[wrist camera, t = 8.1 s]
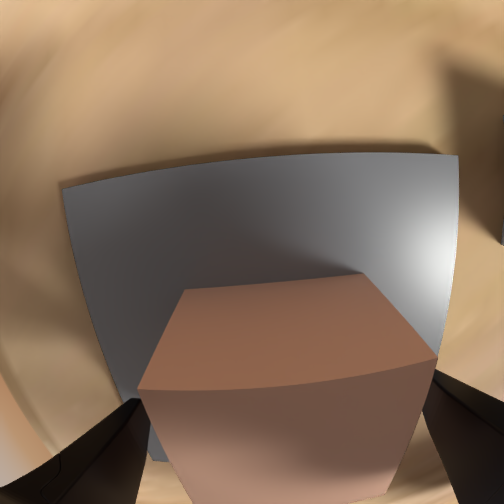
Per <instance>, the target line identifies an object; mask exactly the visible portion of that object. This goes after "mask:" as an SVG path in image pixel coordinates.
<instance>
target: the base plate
mask: <svg viewBox="0 0 504 504" xmlns="http://www.w3.org/2000/svg"><path fill="white" fill-rule="evenodd" d="M62 194H63V201H64V207H65V213H66V219H67V224H68V230H69V235H70V240H71V245H72V249H73V254H74V258H75V262H76V267H77V271H78V275H79V278H80V282H81V286H82V290H83V293H84V297H85V300H86V304H87V307H88V310H89V313H90V317H91V320H92V323H93V326H94V329H95V332H96V335H97V338H98V341H99V343H100V346H101V349H102V352H103V354H104V357H105V360H106V362H107V365H108V367H109V370H110V372H111V375H112V377H113V380H114V382H115V385H116V387H117V389H118V392H119V394H120V396H121V398H122V401H123V403H125V402H126V401H127V400H129V399H130V398H140V395H139V393H138V390H137V388H138V386H139V384H140V381H141V379H142V377H143V375H144V373H145V371H146V368H147V366H148V364H149V362H150V360H151V358H152V356H153V353H154V351H155V349H156V347H157V345H158V343H159V341H160V339H161V337H162V335H163V333H164V330H165V328H166V326H167V324H168V322H169V320H170V318H171V316H172V314H173V312H174V310H175V308H176V306H177V304H178V302H179V300H180V298H181V296H182V294H183V292H184V290H185V289H199V288H212V287H226V286H238V285H250V284H262V283H273V282H284V281H295V280H305V279H315V278H325V277H335V276H344V275H353V274H362V273H364V274H365V275H366V276H367V277H368V278H369V279H370V281H371V282H372V283H373V284H374V285H375V286H376V287H377V288H378V289H379V290H380V291H381V292H382V294H383V295H384V296H385V297H386V298H387V299H388V300H389V301H390V302H391V303H392V305H393V306H394V307H395V308H396V309H397V310H398V311H399V312H400V314H401V315H402V316H403V317H404V318H405V319H406V320H407V321H408V323H409V324H410V325H411V326H412V327H413V328H414V330H415V331H416V332H417V333H418V334H419V335H420V336H421V338H422V339H423V340H424V341H425V342H426V344H427V345H428V346H429V347H430V348H431V349H432V351H433V352H434V353H435V354H436V355H437V357H438V353H439V349H440V345H441V341H442V336H443V332H444V327H445V322H446V317H447V312H448V307H449V301H450V295H451V288H452V281H453V274H454V266H455V257H456V246H457V233H458V214H459V163H458V155H443V154H424V153H383V152H364V153H322V154H301V155H284V156H271V157H258V158H247V159H237V160H228V161H219V162H210V163H202V164H195V165H187V166H180V167H173V168H167V169H160V170H154V171H148V172H142V173H137V174H131V175H126V176H120V177H115V178H110V179H105V180H100V181H96V182H91V183H86V184H82V185H78V186H73V187H69V188H65V189H62ZM147 451H148V453H149V454H150V456H151V458H152V460H153V461H162V462H170V461H169V459H168V457H167V455H166V453H165V451H164V449H163V447H162V445H161V443H160V441H159V439H158V437H157V434H156V432H155V430H154V428H153V426H152V423H151V426H150V433H149V441H148V449H147Z"/></svg>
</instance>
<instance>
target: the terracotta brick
mask: <svg viewBox="0 0 504 504" xmlns="http://www.w3.org/2000/svg"><path fill="white" fill-rule="evenodd" d="M437 360H438V357H437V355H436V354H435V353H434V352H433V351H432V349H431V348H430V347H429V346H428V345H427V344H426V342H425V341H424V340H423V339H422V338H421V336H420V335H419V334H418V333H417V332H416V331H415V330H414V328H413V327H412V326H411V325H410V324H409V323H408V321H407V320H406V319H405V318H404V317H403V316H402V315H401V314H400V312H399V311H398V310H397V309H396V308H395V307H394V306H393V305H392V303H391V302H390V301H389V300H388V299H387V298H386V297H385V296H384V295H383V294H382V292H381V291H380V290H379V289H378V288H377V287H376V286H375V285H374V284H373V283H372V282H371V281H370V279H369V278H368V277H367V276H366V275H365V274H364V273H362V274H353V275H344V276H335V277H325V278H315V279H305V280H295V281H284V282H273V283H262V284H250V285H238V286H226V287H212V288H199V289H185V290H184V292H183V294H182V296H181V298H180V300H179V302H178V304H177V306H176V308H175V310H174V312H173V314H172V316H171V318H170V320H169V322H168V324H167V326H166V328H165V330H164V333H163V335H162V337H161V339H160V341H159V343H158V345H157V347H156V349H155V351H154V353H153V356H152V358H151V360H150V362H149V364H148V366H147V368H146V371H145V373H144V375H143V377H142V379H141V381H140V384H139V386H138V388H137V390H138V393H139V395H140V398H141V400H142V403H143V405H144V407H145V410H146V412H147V414H148V417H149V419H150V421H151V423H152V426H153V428H154V430H155V432H156V434H157V437H158V439H159V441H160V443H161V445H162V447H163V449H164V451H165V453H166V455H167V457H168V459H169V461H170V463H171V465H172V467H173V469H174V471H175V472H176V474H177V476H178V478H179V480H180V482H181V483H182V485H183V487H184V489H185V491H186V492H187V494H188V496H189V497H190V499H191V501H192V502H193V504H348V503H353V502H357V501H362V500H366V499H370V498H374V497H377V496H381V495H385V493H386V491H387V489H388V487H389V485H390V483H391V481H392V479H393V477H394V475H395V473H396V471H397V469H398V467H399V465H400V463H401V461H402V458H403V456H404V454H405V452H406V449H407V447H408V445H409V442H410V440H411V438H412V435H413V433H414V430H415V428H416V425H417V422H418V420H419V417H420V414H421V411H422V409H423V406H424V403H425V400H426V397H427V394H428V391H429V388H430V384H431V381H432V378H433V374H434V371H435V367H436V364H437Z"/></svg>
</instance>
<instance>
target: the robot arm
mask: <svg viewBox="0 0 504 504" xmlns="http://www.w3.org/2000/svg"><path fill="white" fill-rule="evenodd" d="M422 412H423V415H424V418H425V421H426V424H427V427H428V430H429V432H430V435H431V437H432V439H433V442H434V444H435V446H436V449H437V451H438V453H439V455H440V458H441V460H442V463H443V465H444V467H445V470H446V472H447V475H448V477H449V480H450V482H451V485H452V487H453V490H454V493H455V495H456V498H457V500H458V503H459V504H504V402H502V401H500V400H498V399H496V398H494V397H492V396H490V395H488V394H486V393H484V392H482V391H479V390H477V389H475V388H473V387H471V386H469V385H467V384H465V383H463V382H461V381H459V380H457V379H455V378H453V377H451V376H449V375H447V374H445V373H443V372H441V371H438V370H436V369H435V371H434V374H433V378H432V381H431V384H430V388H429V391H428V394H427V397H426V400H425V403H424V406H423V409H422ZM150 426H151V421H150V419H149V417H148V414H147V412H146V410H145V407H144V405H143V403H142V400H141V398H130V399H129V400H127V401H126V402H125V403H124V404H122V405H121V406H120V407H118V408H117V409H116V410H115V411H113V412H112V413H111V414H110V415H108V416H107V417H106V418H104V419H103V420H102V421H100V422H99V423H98V424H97V425H95V426H94V427H93V428H91V429H90V430H89V431H87V432H86V433H85V434H84V435H82V436H81V437H80V438H78V439H77V440H76V441H74V442H73V443H72V444H70V445H69V446H68V447H66V448H65V449H64V450H62V451H61V452H60V453H58V454H57V455H55V456H54V457H53V458H51V459H50V460H48V461H47V462H45V463H44V464H42V465H41V466H39V467H38V468H36V469H35V470H33V471H31V472H29V473H28V474H26V475H24V476H22V477H20V478H19V479H17V480H15V481H13V482H11V483H9V484H8V485H5V486H3V487H0V504H135V503H136V499H137V494H138V490H139V486H140V482H141V478H142V474H143V470H144V466H145V462H146V456H147V449H148V441H149V433H150Z"/></svg>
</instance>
